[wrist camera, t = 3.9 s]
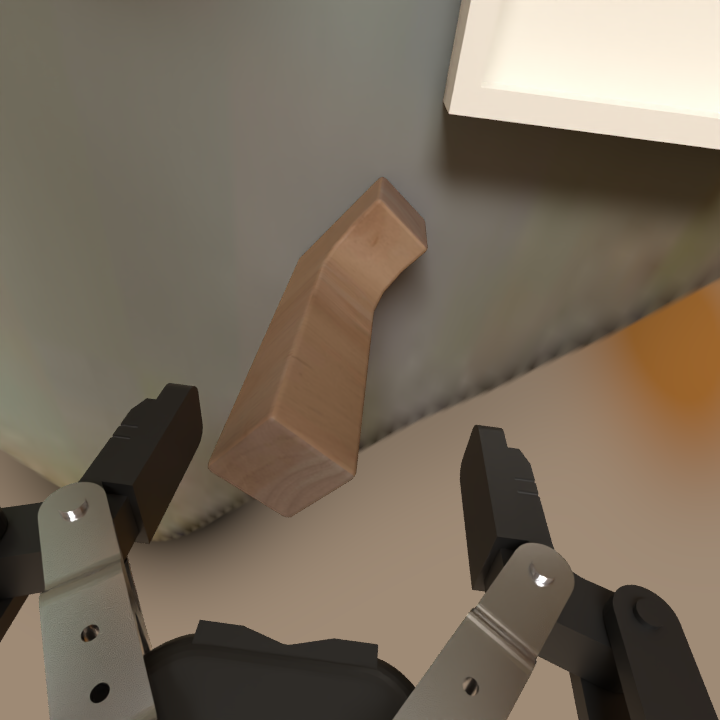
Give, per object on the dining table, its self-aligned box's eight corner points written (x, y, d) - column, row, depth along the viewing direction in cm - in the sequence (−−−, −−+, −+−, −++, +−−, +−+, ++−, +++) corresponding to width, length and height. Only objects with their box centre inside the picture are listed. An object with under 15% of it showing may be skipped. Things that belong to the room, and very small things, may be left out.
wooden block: (340, 298, 27) (287, 522, 15) (297, 259, 26) (202, 470, 14) (426, 221, 24) (447, 424, 12) (382, 173, 23) (356, 346, 11)
